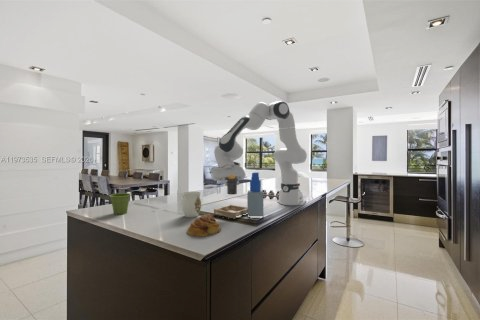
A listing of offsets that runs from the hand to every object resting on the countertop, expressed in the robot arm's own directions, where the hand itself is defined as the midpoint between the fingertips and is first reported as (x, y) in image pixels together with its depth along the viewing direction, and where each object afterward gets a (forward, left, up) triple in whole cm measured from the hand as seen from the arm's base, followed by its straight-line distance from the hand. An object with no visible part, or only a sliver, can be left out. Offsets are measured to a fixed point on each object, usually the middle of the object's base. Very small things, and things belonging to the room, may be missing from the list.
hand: (232, 184), depth 140 cm
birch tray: (0, 0, -18) cm, 18 cm away
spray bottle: (-4, +13, -18) cm, 22 cm away
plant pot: (+37, -57, -18) cm, 70 cm away
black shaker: (0, -1, -5) cm, 5 cm away
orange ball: (0, 0, +4) cm, 4 cm away
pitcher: (+15, -18, -18) cm, 29 cm away
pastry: (+30, +7, -18) cm, 36 cm away
